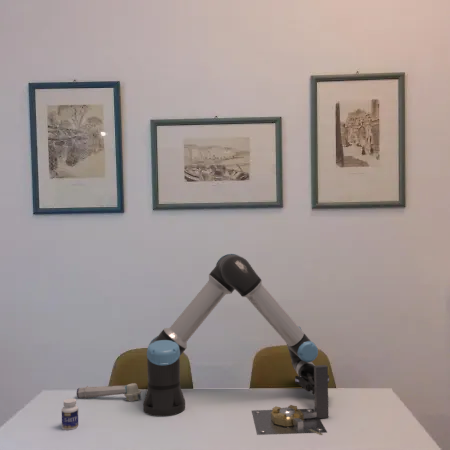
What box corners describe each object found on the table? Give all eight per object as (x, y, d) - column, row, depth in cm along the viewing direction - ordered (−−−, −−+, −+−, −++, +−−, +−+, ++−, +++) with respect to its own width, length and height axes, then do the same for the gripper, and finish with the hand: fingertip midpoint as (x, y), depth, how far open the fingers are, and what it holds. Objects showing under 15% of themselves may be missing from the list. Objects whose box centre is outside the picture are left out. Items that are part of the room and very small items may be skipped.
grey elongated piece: (81, 385, 197) (141, 379, 193) (83, 402, 197) (143, 396, 193) (74, 389, 192) (136, 383, 188) (77, 407, 192) (139, 401, 188)
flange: (257, 440, 153) (257, 425, 153) (251, 413, 175) (251, 400, 175) (328, 438, 154) (328, 423, 154) (313, 411, 176) (313, 398, 176)
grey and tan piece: (276, 427, 160) (276, 374, 160) (268, 415, 170) (267, 365, 169) (333, 422, 163) (332, 370, 163) (321, 410, 173) (320, 361, 173)
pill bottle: (63, 431, 162) (62, 404, 162) (60, 425, 167) (60, 399, 167) (80, 428, 165) (79, 401, 165) (76, 422, 170) (76, 396, 170)
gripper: (324, 381, 193) (341, 405, 170) (291, 382, 193) (303, 407, 169) (324, 362, 193) (341, 384, 169) (290, 363, 192) (303, 385, 169)
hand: (322, 395), depth 169 cm, fingers closed
